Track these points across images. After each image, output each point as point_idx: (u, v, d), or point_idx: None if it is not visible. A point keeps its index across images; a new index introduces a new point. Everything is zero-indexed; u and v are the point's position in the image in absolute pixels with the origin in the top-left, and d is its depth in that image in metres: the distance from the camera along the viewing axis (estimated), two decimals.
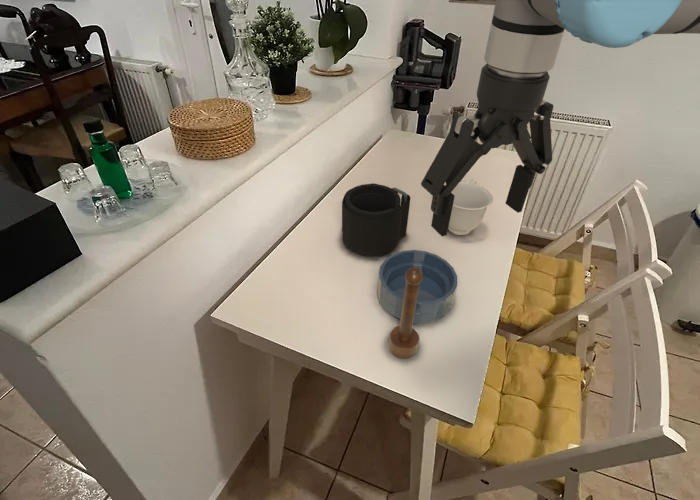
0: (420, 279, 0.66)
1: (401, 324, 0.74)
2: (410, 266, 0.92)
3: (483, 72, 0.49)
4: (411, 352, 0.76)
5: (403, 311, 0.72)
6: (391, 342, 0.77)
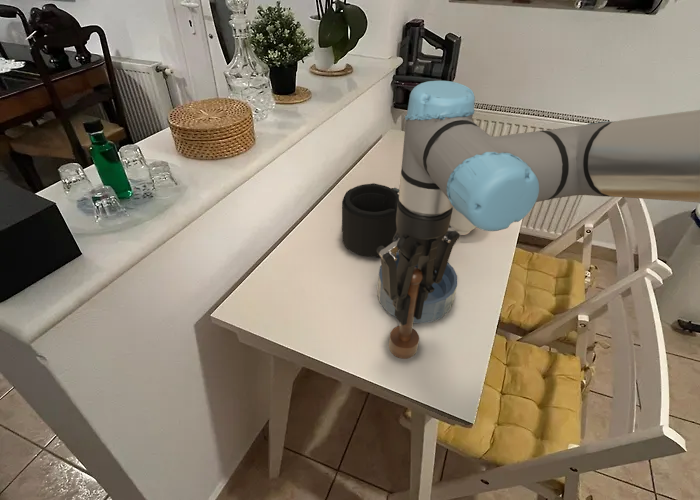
0: (420, 279, 0.66)
1: (401, 324, 0.74)
2: None
3: (398, 205, 0.59)
4: (411, 352, 0.76)
5: None
6: (391, 342, 0.77)
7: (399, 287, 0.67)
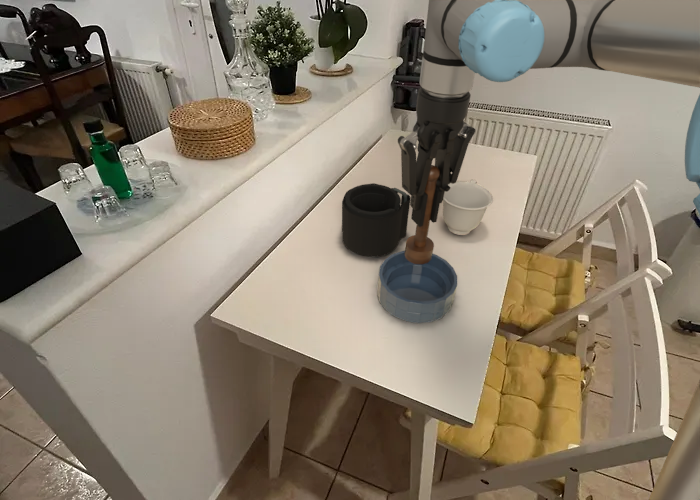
0: (437, 175, 0.70)
1: (417, 228, 0.78)
2: (410, 266, 0.92)
3: (419, 92, 0.62)
4: (427, 257, 0.80)
5: None
6: (407, 248, 0.80)
7: (417, 183, 0.70)
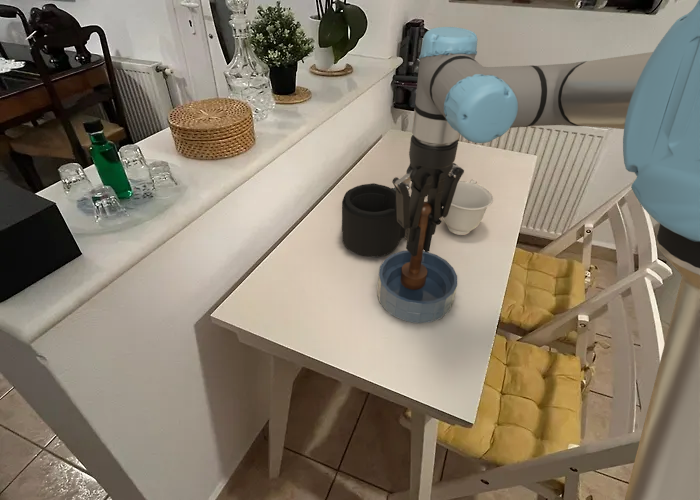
0: (429, 211, 0.76)
1: (412, 257, 0.84)
2: None
3: (411, 140, 0.68)
4: (420, 283, 0.86)
5: None
6: (402, 275, 0.86)
7: (411, 218, 0.77)
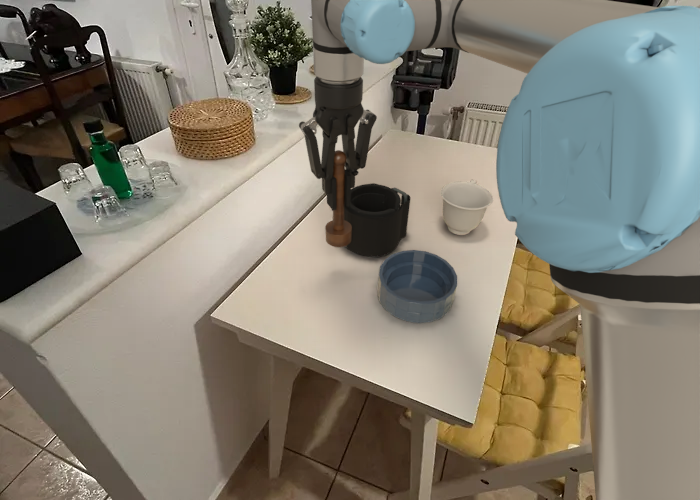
0: (343, 159, 0.74)
1: (333, 212, 0.81)
2: (410, 266, 0.92)
3: (314, 80, 0.66)
4: (344, 240, 0.83)
5: None
6: (326, 231, 0.84)
7: (324, 167, 0.74)
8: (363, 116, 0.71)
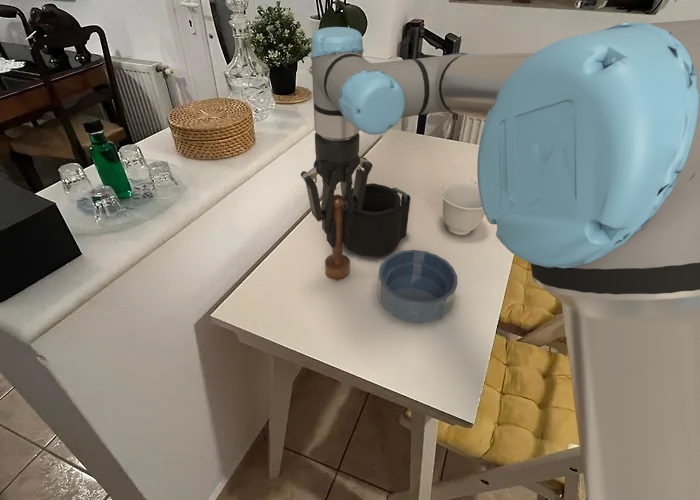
0: (341, 203, 0.79)
1: (332, 248, 0.87)
2: (410, 266, 0.92)
3: (315, 135, 0.72)
4: (343, 274, 0.89)
5: None
6: (326, 266, 0.90)
7: (324, 210, 0.80)
8: (360, 164, 0.77)
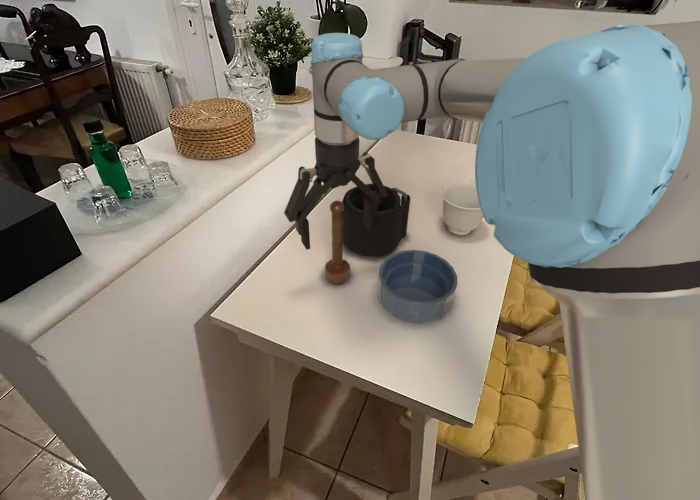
0: (341, 209, 0.80)
1: (332, 253, 0.88)
2: (410, 266, 0.92)
3: (315, 139, 0.72)
4: (343, 279, 0.90)
5: (332, 241, 0.86)
6: (326, 270, 0.91)
7: (301, 210, 0.77)
8: (362, 163, 0.77)
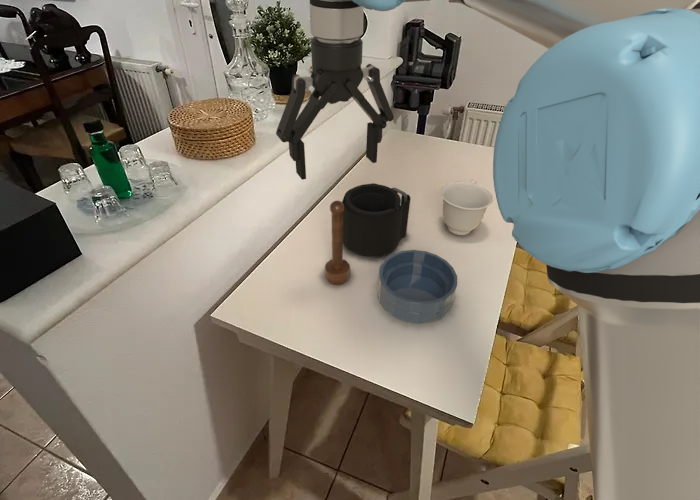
0: (341, 209, 0.80)
1: (332, 253, 0.88)
2: (410, 266, 0.92)
3: (311, 41, 0.62)
4: (343, 279, 0.90)
5: (332, 241, 0.86)
6: (326, 270, 0.91)
7: (296, 129, 0.67)
8: (365, 76, 0.67)
